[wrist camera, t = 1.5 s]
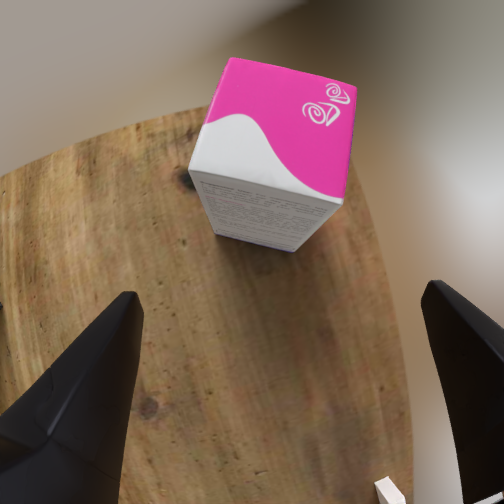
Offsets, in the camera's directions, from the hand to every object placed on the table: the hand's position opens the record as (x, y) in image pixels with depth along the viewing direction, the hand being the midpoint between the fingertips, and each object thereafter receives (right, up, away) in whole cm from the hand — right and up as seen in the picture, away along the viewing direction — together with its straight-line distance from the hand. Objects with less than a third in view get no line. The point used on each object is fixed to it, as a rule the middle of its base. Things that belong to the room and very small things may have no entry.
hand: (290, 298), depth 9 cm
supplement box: (0, +5, +13) cm, 14 cm away
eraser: (+10, -19, +10) cm, 24 cm away
